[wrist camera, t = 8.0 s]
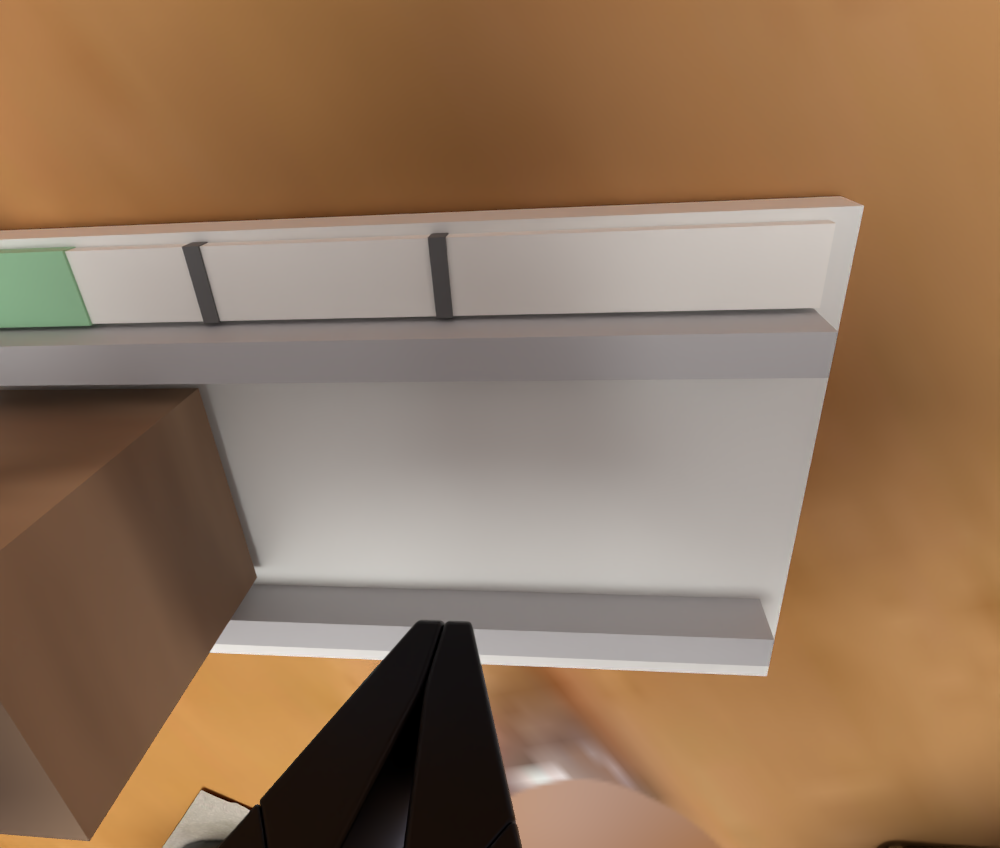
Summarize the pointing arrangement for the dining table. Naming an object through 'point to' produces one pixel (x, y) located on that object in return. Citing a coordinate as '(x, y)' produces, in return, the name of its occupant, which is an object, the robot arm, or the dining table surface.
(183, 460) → the brown cardboard cube
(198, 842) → the condiment
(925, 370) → the dining table surface
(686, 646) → the gauge base
